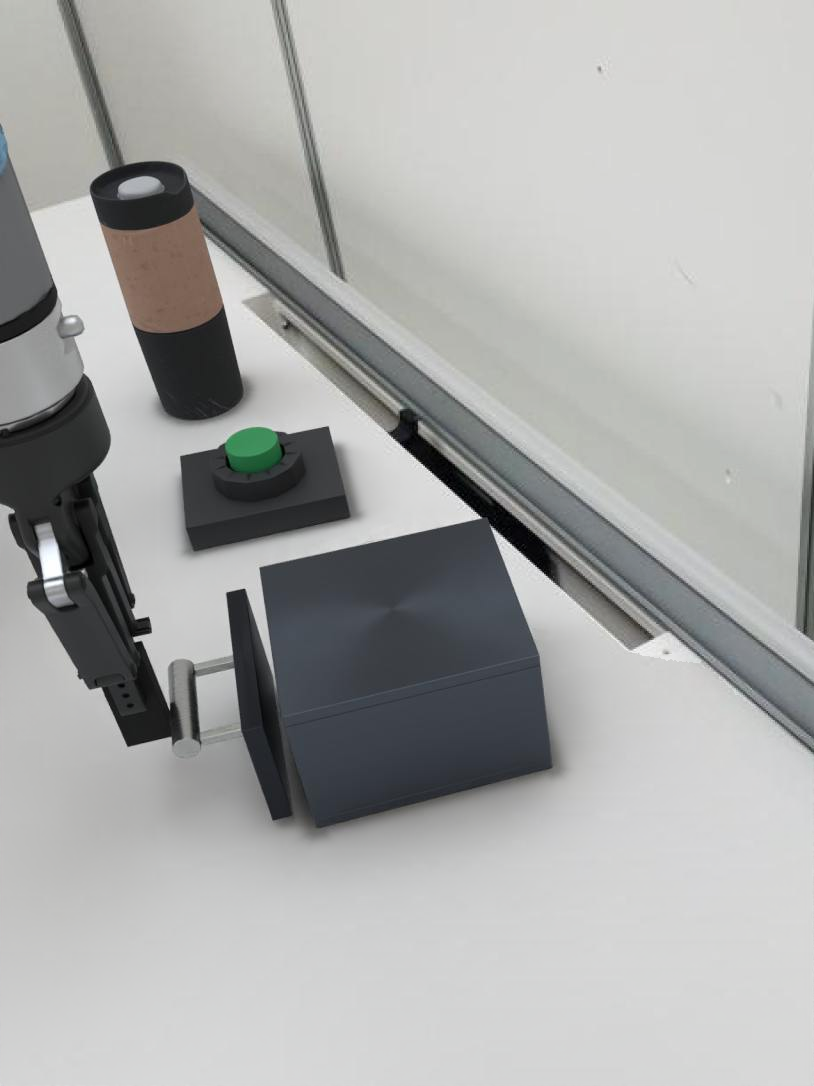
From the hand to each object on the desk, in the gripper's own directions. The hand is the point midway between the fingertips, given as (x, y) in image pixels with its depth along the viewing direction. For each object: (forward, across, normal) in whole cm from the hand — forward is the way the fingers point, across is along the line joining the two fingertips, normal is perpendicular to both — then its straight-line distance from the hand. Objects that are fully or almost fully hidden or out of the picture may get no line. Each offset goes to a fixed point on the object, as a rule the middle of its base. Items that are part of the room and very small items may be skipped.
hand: (150, 732), depth 76 cm
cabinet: (+5, 0, -16) cm, 16 cm away
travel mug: (+5, +45, -4) cm, 46 cm away
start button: (+1, +28, -8) cm, 29 cm away
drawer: (+4, 0, -10) cm, 11 cm away
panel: (+5, +28, -8) cm, 30 cm away
